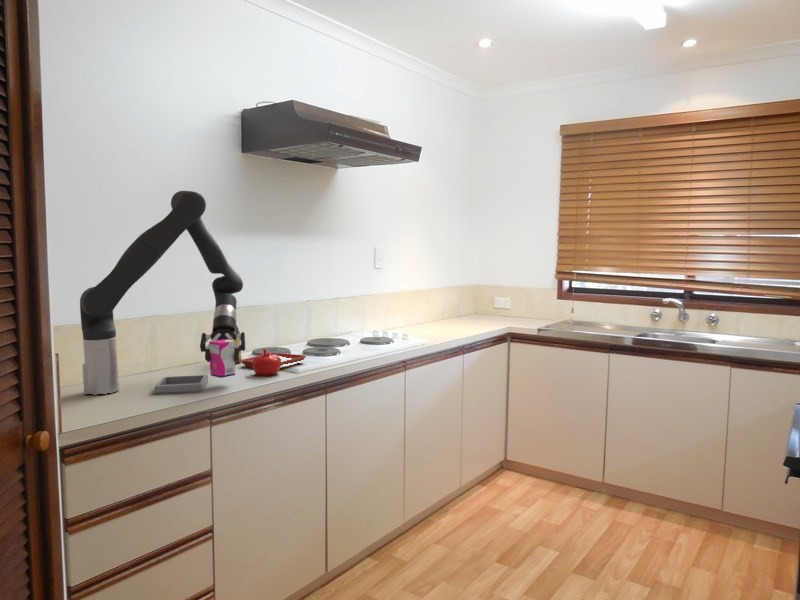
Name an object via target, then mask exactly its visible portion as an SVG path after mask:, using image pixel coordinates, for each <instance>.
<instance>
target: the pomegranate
mask: <svg viewBox="0 0 800 600" xmlns="http://www.w3.org/2000/svg"><path fill="white" fill-rule="evenodd" d="M262 351H263V352H260V353H256V354H255V355H256V356H257V357H256V356H254V357H255V358H254V360H253V362H252V367H251V368H252V370H253V371H254V373H255V375H256V376H259V377H265V376H273V375H274V376H275V375H276V374H277V373H278V372H279V371H280V370H281V369H280V366H281V359H280V358H279V357H278V356H276V355H272V354H273V353H275V354H276V353H277V352H271V351H268V352H267V349H266V348H263V349H262Z"/></svg>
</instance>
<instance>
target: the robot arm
mask: <svg viewBox="0 0 800 600" xmlns="http://www.w3.org/2000/svg"><path fill="white" fill-rule="evenodd" d="M170 206H171V207H170V208H171V211H169V213H168V215H166V216H165V217H164V218H163V219H161V220H160V221H159V222H157V223H155V224H154V225H153V226H151V227H149V228H148V229H147V230H144V232H142V233H141V234H139V236H138V237H137V238H136V239H135V240H134V241H133V242H132V243H131V244H130V245H129V246H128V248H126V250H125V251H124V253H122V255H121V256H120V257H119V259H118V260H117V263H116V264H115V266H114V267H113V269H112V270H111V271H110V272H109V274H108V275H106V276H105V277H104V278H103V279H102V280H101V281H100V282H99V283H97V284H96V285H95V286H93V287H92V286H91V287H89V288H87V289H85V290H84V291H83V292H82V294H81V296H80V299H79V310H80V311H79V313H80V324H81V331H82V342H83V357H84V363H83V364H82V381H83V382H82V383H83V395H84V394H93V395H92V396H98V395H97V394H105V395H108V394H107V393H111V394H114V393H113V392H115V393H117V392H119V391H118V390H120V383H119V369H118V368H119V367H118V349H117V346H118V345H117V334H116V333H117V329H116V326H115V321H114V310H115V308H116V307H117V306H118V305H119V303H120V302H121V300H122V299H123V297H124V296H125V295H126V293H127V292H128V291H129V289H131V288H132V286H133V285H134V284H136V282H137V281H139V280H140V279H141V278H142V277H143V276H144V275H145V274H147V272H148V271H150V269H151V268H153V267H154V265H156V263H158V261H159V260H161V258H162V257H163V256H164V254H165V253H166V252H167V251H168V250H169V249H170V247H172V245H173V244H174V243H175V242H176V241H177V240H178V238H180V236H181V235H182V234H183V233H184V232H185V231H187V232H188V234H189V236H190V237H191V239H192V241H193V242H194V244H195V246H196V248H197V250H198V251H199V254H200V256H201V257H202V260H203V262H204V263H205V266H206V267H207V269H208V271H209V272H210V273H211V274H213V275H214V274H215V275H216V274H221V275H222V276H219V277H216V278H214V279H213V281H212V284H211V287H212V291H213V294H214V299H215V307H214V314H213V319H212V321H213V322H212V330H211V334H207V333H206V332H203V333H202V334H201V338H200V342H199V348H200V352H201V353H204V359H205V361H206V362H207V363H210V347H209V343H208V342H209V340H210V341H216V340H222V339H225V340H233V341H234V361H237V360H238V359H239V352H240V351H241V352H243V351H246V334H245V332H244V331H243V332H240V334H236V325H237V321H238V320H237V303H238V302H237V298H236V296H235V295H234V294H236V293H240V292H241V291H242V289H243V288H244V282H243V279H242V277H241V276H240V274H239V273H238V272H237V271H236V270H235V269H234V268H233V267H232V266H231V264H230V263H229V262H228V260H227V258H226V256H225V254H224V252H223V250H222V248H221V246H220V244H219V243H218V241H217V240H216V239H215V237H214V235H212V233H210V231H209V230H208V228H207V226H206V224H205V223H204V220H203V219H202V216H203V214H204V213H205V211H206V208H207V201H206V199H205V196H204V195H202V193H199V192H197V191H193V190H192V191H191V190H179V191H177V192H175V193H174V194H173V196H172V197H171V201H170ZM237 338H238V339H239V340H240V345H239V346H238V344H237V343H236V342H235V340H236V339H237ZM206 343H208V344H207V345H206ZM116 391H117V392H116Z"/></svg>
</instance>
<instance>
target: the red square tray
mask: <svg viewBox="0 0 800 600" xmlns="http://www.w3.org/2000/svg"><path fill="white" fill-rule="evenodd" d="M273 353H274V354H275V353H276V354H277V355H280V356H282V357H286V358H292V359H291V360H287V361H283V362H281V365H283V364H288V363H293V362H297V361H301V360H303V361H304V360H305V358H306V357H307V355H303V354H293V353H291V354H290V353H282V352H281V353H280V352H273ZM257 356H258V355H256V356H253V357H248V358H245V359H244V358H243V359H241V362H240V363H242V364H243V365H245V366H246V368H252V362H253V360H254V358H255V357H257Z"/></svg>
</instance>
